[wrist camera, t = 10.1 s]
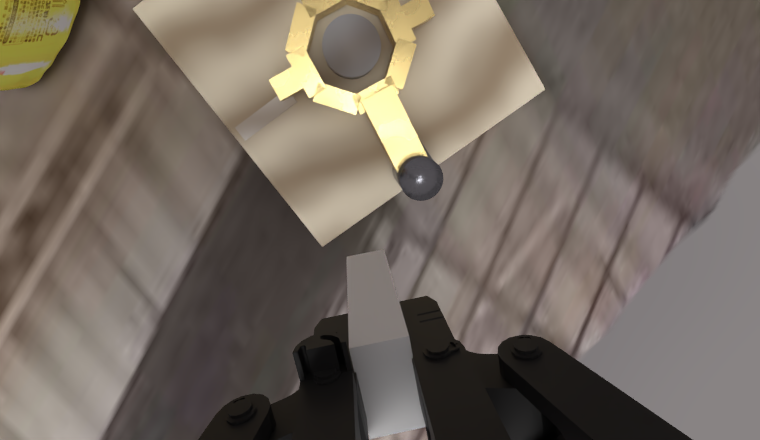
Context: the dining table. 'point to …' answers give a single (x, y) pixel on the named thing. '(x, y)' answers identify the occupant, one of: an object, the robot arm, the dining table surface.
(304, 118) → the post board
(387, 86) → the collar
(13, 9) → the bottle
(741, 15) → the dining table surface
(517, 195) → the dining table surface
